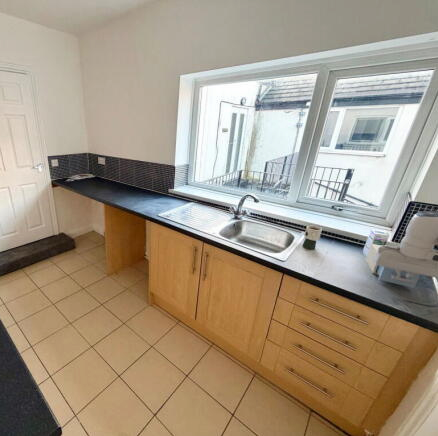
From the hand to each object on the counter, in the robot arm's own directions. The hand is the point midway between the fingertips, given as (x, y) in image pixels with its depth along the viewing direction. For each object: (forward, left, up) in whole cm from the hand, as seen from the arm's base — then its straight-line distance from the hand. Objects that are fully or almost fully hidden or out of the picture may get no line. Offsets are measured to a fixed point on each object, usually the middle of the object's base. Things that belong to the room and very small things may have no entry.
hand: (401, 279), depth 102 cm
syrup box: (+3, -31, -5) cm, 31 cm away
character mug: (+32, -24, -5) cm, 40 cm away
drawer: (0, -7, -4) cm, 8 cm away
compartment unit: (0, -17, -5) cm, 18 cm away
